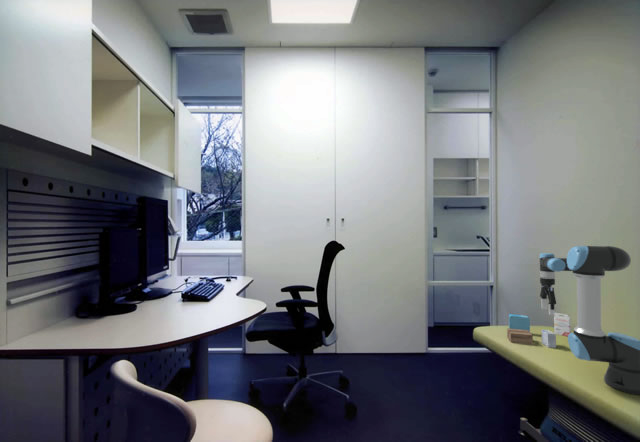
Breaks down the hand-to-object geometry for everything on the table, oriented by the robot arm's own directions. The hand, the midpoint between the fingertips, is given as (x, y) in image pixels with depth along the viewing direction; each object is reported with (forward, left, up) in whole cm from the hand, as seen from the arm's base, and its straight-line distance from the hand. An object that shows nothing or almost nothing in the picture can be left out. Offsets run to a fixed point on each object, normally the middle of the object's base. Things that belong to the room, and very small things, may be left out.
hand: (547, 311), depth 192 cm
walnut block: (+3, +15, -21) cm, 26 cm away
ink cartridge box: (+27, -16, -21) cm, 38 cm away
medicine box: (0, 0, -21) cm, 21 cm away
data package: (+21, +11, -21) cm, 32 cm away
